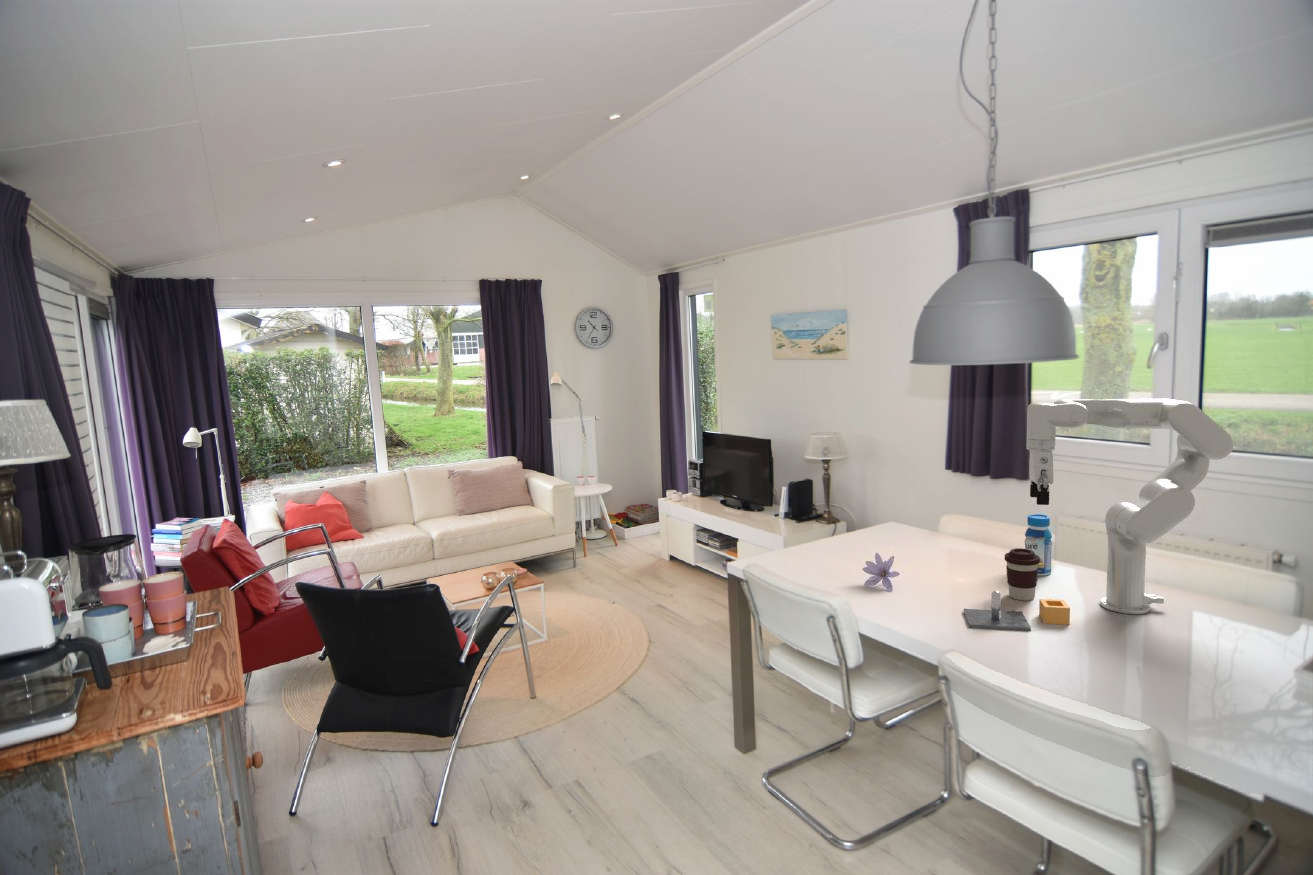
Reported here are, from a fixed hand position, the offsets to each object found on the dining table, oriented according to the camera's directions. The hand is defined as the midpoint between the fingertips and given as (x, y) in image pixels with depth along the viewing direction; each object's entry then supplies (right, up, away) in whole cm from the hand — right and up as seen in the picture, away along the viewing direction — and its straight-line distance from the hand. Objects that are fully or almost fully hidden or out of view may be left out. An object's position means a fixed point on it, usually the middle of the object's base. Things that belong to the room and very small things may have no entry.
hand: (1039, 500), depth 211 cm
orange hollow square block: (+1, -34, -6) cm, 35 cm away
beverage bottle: (+18, -28, +33) cm, 47 cm away
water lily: (-39, -32, +29) cm, 58 cm away
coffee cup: (+1, -32, +12) cm, 34 cm away
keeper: (-15, -35, -4) cm, 38 cm away
